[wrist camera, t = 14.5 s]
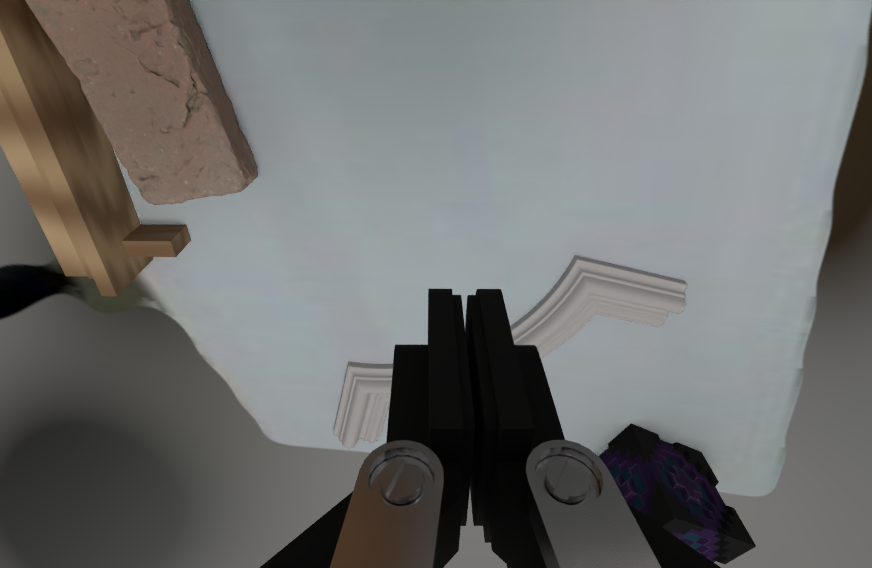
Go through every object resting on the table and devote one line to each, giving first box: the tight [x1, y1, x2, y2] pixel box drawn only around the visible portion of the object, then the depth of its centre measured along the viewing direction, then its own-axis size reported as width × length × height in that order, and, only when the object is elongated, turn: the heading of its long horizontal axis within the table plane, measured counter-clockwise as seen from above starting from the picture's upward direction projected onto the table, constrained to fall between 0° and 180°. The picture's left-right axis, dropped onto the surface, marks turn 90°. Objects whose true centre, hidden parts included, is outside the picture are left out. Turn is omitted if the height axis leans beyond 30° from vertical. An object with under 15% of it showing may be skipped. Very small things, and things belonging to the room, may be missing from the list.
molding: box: [333, 255, 687, 449], centre depth 49 cm, size 42×12×3 cm, turn 120°
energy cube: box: [600, 424, 756, 564], centre depth 56 cm, size 12×12×12 cm
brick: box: [25, 0, 258, 205], centre depth 33 cm, size 17×8×5 cm, turn 11°
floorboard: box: [0, 0, 191, 296], centre depth 33 cm, size 28×10×6 cm, turn 179°
